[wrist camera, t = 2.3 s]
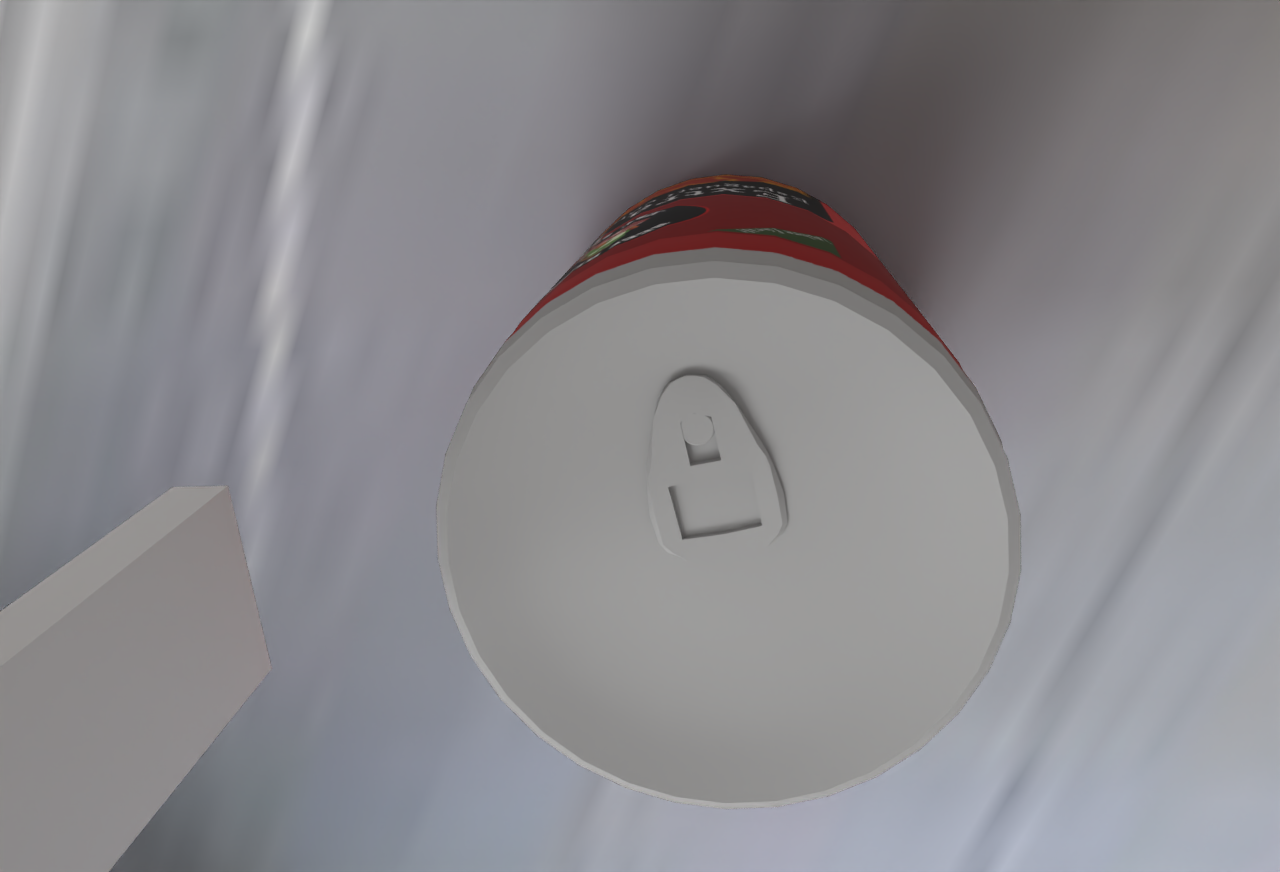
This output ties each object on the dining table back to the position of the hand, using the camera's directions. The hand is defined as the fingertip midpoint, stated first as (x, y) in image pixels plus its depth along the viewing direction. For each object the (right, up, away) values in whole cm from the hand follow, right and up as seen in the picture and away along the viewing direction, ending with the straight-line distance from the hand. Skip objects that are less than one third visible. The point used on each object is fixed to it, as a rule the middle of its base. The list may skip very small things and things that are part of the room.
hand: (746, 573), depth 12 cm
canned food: (+1, +4, +11) cm, 12 cm away
